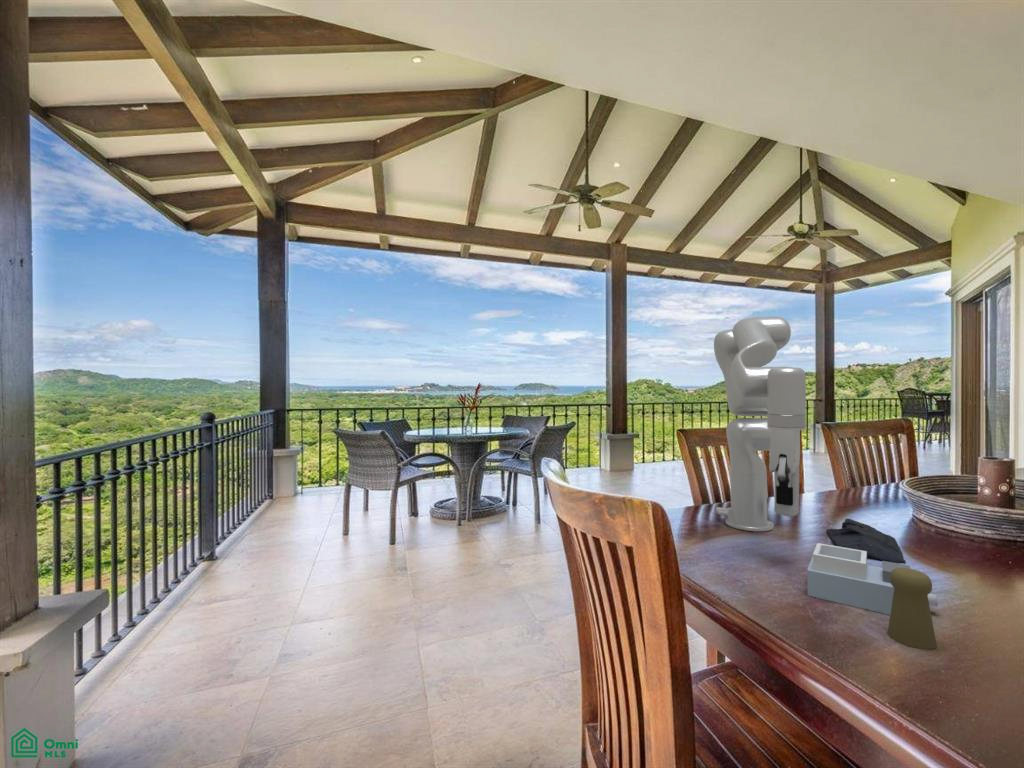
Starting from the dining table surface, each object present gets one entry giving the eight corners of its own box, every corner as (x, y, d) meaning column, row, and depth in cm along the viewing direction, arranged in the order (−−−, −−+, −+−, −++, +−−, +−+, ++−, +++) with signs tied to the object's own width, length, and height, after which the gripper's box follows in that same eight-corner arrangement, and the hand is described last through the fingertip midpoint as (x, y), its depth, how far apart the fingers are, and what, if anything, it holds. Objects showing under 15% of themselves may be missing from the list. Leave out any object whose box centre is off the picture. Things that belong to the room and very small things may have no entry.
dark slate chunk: (828, 555, 112) (828, 536, 112) (826, 531, 131) (825, 514, 131) (910, 568, 104) (910, 547, 104) (895, 540, 122) (895, 522, 122)
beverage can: (796, 511, 106) (795, 459, 106) (801, 517, 102) (801, 463, 101) (772, 509, 108) (772, 458, 108) (777, 515, 103) (776, 462, 103)
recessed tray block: (807, 595, 90) (806, 554, 90) (813, 578, 98) (812, 541, 98) (940, 626, 78) (939, 578, 78) (934, 604, 86) (933, 561, 86)
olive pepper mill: (877, 630, 77) (876, 564, 77) (911, 628, 77) (909, 562, 78) (912, 650, 71) (910, 579, 71) (948, 648, 71) (946, 577, 71)
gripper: (774, 417, 113) (774, 491, 114) (760, 424, 100) (760, 507, 100) (810, 419, 109) (810, 495, 109) (800, 426, 95) (800, 514, 96)
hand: (786, 500), depth 105 cm, fingers closed on beverage can, 4 cm apart
